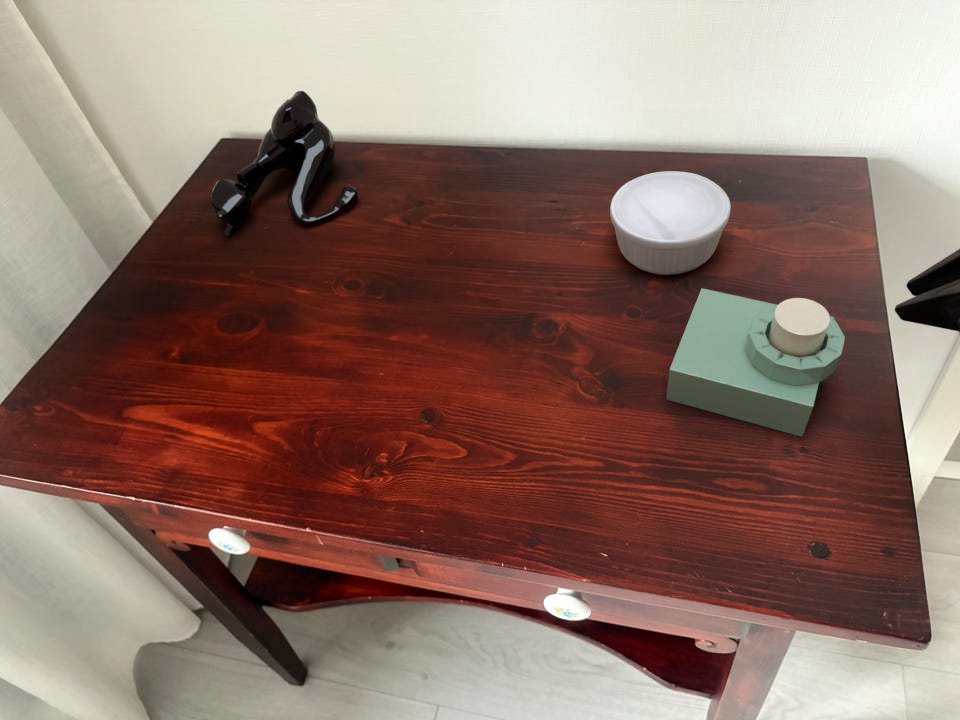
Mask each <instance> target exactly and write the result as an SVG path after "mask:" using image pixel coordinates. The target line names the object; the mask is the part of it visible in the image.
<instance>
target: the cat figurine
mask: <svg viewBox="0 0 960 720" xmlns="http://www.w3.org/2000/svg"><path fill="white" fill-rule="evenodd" d="M313 100H314V99H312V98H311V97H310V95H309V94H308V93H307V92H306V91H304V90H297V91H296V92H295V93H294V94H292V96H291V98H288V99H285V101H284V102H283V103H282V104H281V105H280V106H279V107H278V108H277V110H276V111H275V113H274V115H273V117H272V119H271V124H270V128H269V129H268V130H267V131H266V133H264V136H263V138H262V140H261V142H260V145H259V147H258V150H257V156H256V157H255V159H254V161H252V162H250V163H248V164H247V165H246V166H244V167H242V168H241V169H240V170H239V171H237V173H236V179H237V182H235V181H234V180H232V179H228V178H222V179H218V180H217V181H216V182H215V184H214V186H213V188H212V190H211V193H210V203H211V205H212V208H213V210H214V212H215V217H216V218H217V219H219V220H220V221H221V222H222V223H223V224H224V225H226V227H225V229H224V231H223V234H224V236H226V237H227V238H229V237H231V236H232V235H233V233H234V230H235V229H236V228H237V227H238V226H239V225H240V224H241V223H242V221H244V219H245V218H246V217H248V215H249V214H250V213H251V211H252V209H253V201H252V199H253V198H254V197H255V196H256V194H257V192H258V191H259V190H260V188H261V186H262V185H263V184H264V182H265V180H266V178H267V177H268V176H270V175H271V174H272V173H273V172H276V171H279V170H283V169H285V170H288V171H290V172H292V171H293V172H294V171H297V170H298V173H297V175H296V177H295V180H294V182H293V185H292V187H291V189H290V191H289V193H288V196H287V199H286V201H287V204H288V209H289V210H290V212H291V214H292V216H293V217H294V219H295V220H296V221H297V222H298V223H300V224H302V225H304V226H314V225H317V224H319V223H322V222H325V221H327V220H330V219H332V218H335V217H336V216H337V215H339V214H341V213H345V212H349V211H350V210H351V209H352V208H353V206H355V205H356V204H357V202H358V201H359V193H358V190H357V187H355V186H353V185H350V184H349V185H346V186H344V187H343V188H342V190H341V193H340V194H339V196H338V197H337V198H336V200H335V202H334V205H333V207H332V208H330V209H328V210H326V211H324V212H321V213H319V214H316V215H309V214H307V213H306V209H307V206H308V204H309V202H310V200H311V199H312V197H313V196H314V195H315V194H316V192H317V190H318V189H319V187H320V186H321V185H322V183H323V180H325V178H326V176H328V173H329V172H330V170H331V168H332V166H333V164H334V160H335V154H336V146H335V139H334V136H333V134H332V133H333V132H332V131H331V130H330V128H329V127H328V126H327V125H326V124H325V123H324V122H323V121H322V120H320V118H319V115H318V114H319V113H318V109H317V105H316V103H315V102H314V101H313Z"/></svg>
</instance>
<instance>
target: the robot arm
mask: <svg viewBox="0 0 960 720" xmlns="http://www.w3.org/2000/svg"><path fill="white" fill-rule="evenodd" d="M906 289H907V290H908V291H909V293H910V294H911V295H912V296H913V297H911V298H909V299H907V300H905V301H902V302H900V303H898V304H896V305H895V307H894V312H895V313H896V315H897V316H898V318H899V319H900V320H901V321H904V322H909V323H912V324H913V323H914V324H919V325H924V326H929V327H934V328H938V329H945V330H950V331H954V332H958V333H959V334H960V248H958V249H957V250H955V251H954V252H951V254H949V255H947V256H946V257H944V258H943V259H940V260H939V261H938V262H936V263H934V264H933V265H931V266H930V267H928V268H926V269H925V270H924V271H922V272H920V273H918V274H916V276H914V277H912V278H911V279H909V280H908V281H907V283H906Z"/></svg>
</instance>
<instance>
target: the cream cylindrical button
mask: <svg viewBox="0 0 960 720" xmlns="http://www.w3.org/2000/svg"><path fill="white" fill-rule="evenodd" d="M777 305H778V306H777V307H776V309H775V311H774V315H773V319H772V323H771V327H770V331H769V340H770V342H771V344H772V345H773V347H774V348H775V349H777V350H778V351H780V352H781V353H783V354H786V355H791V356H795V357H807V356H811V355H813V354H815V353H817V352H818V351H819V350H820V349H821V347H822V344H823V341H824V339H825V336H826V333H827V330H828V327H829V324H830V316H831V315H830V313H829V312H828V310H827V308H825V306H823V305H822V304H821V303H819V302H817V301H815V300H812V299H810V298H804V297H792V298H788V299H785V300H782V301H781V302H779V304H777Z"/></svg>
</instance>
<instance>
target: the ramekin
mask: <svg viewBox="0 0 960 720" xmlns="http://www.w3.org/2000/svg"><path fill="white" fill-rule="evenodd" d="M731 208H732V207H731V200H730V198H729V196H728V194H727V193H726V191H725V190H724V189H723V188H722V187H721V186H720V185H719V184H717V183H715V182H714V181H713V180H710V179H709V178H707V177H705V176H702V175H700V174H697V173H692V172H687V171H679V170H678V171H673V170H665V171H657V172H650V173H646V174H644V175H641V176H637V177H636V178H634V179H632V180H630V181H628V182H626V183H624V184H623V185H622V186H621V187H620V188H619V189H618V190H617V191H616V192H615V193H614V195H613V196H612V199H611V202H610V207H609V216H610V221H611V224H612V225H613V227H614V233H615V235H616V240H617V246H618V248H619V251H620V252H621V254H622V256H623V257H624V258H625V259H626V260H627V261H628V262H629V263H630V264H632V265H633V266H634V267H636V268H637V269H640V270H642V271H644V272H647V273H650V274H655V275H660V276H661V275H662V276H671V275H673V276H674V275H679V274H684V273H688V272H690V271H693V270H695V269H697V268H699V267H700V266H702V265H704V264H705V263H706V262H708V260H709V259H710V258H711V257H712V256H713V255H714V253H715V251H716V250H717V247H718V245H719V242H720V239H721V238H722V234H723V231H724V229H725V228H726V226H727V225H728V222H729V220H730V216H731Z"/></svg>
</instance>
